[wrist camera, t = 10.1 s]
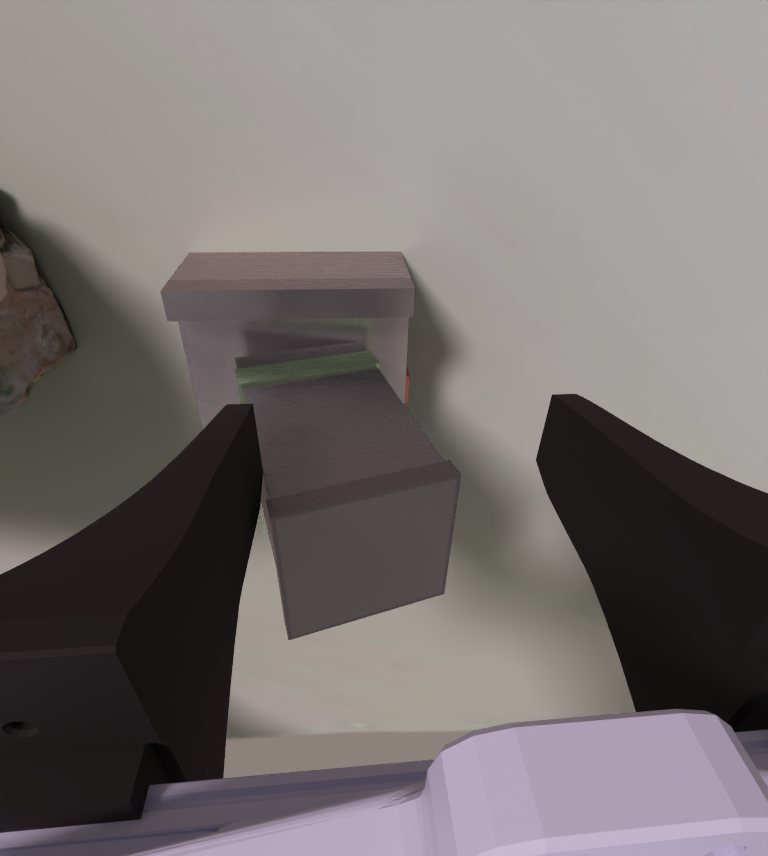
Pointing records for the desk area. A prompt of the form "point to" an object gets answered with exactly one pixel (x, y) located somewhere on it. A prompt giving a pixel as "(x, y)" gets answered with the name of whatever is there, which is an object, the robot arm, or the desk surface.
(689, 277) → the desk surface
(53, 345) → the fossil rock
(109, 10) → the desk surface
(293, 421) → the grey rectangular block
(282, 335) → the stand block
